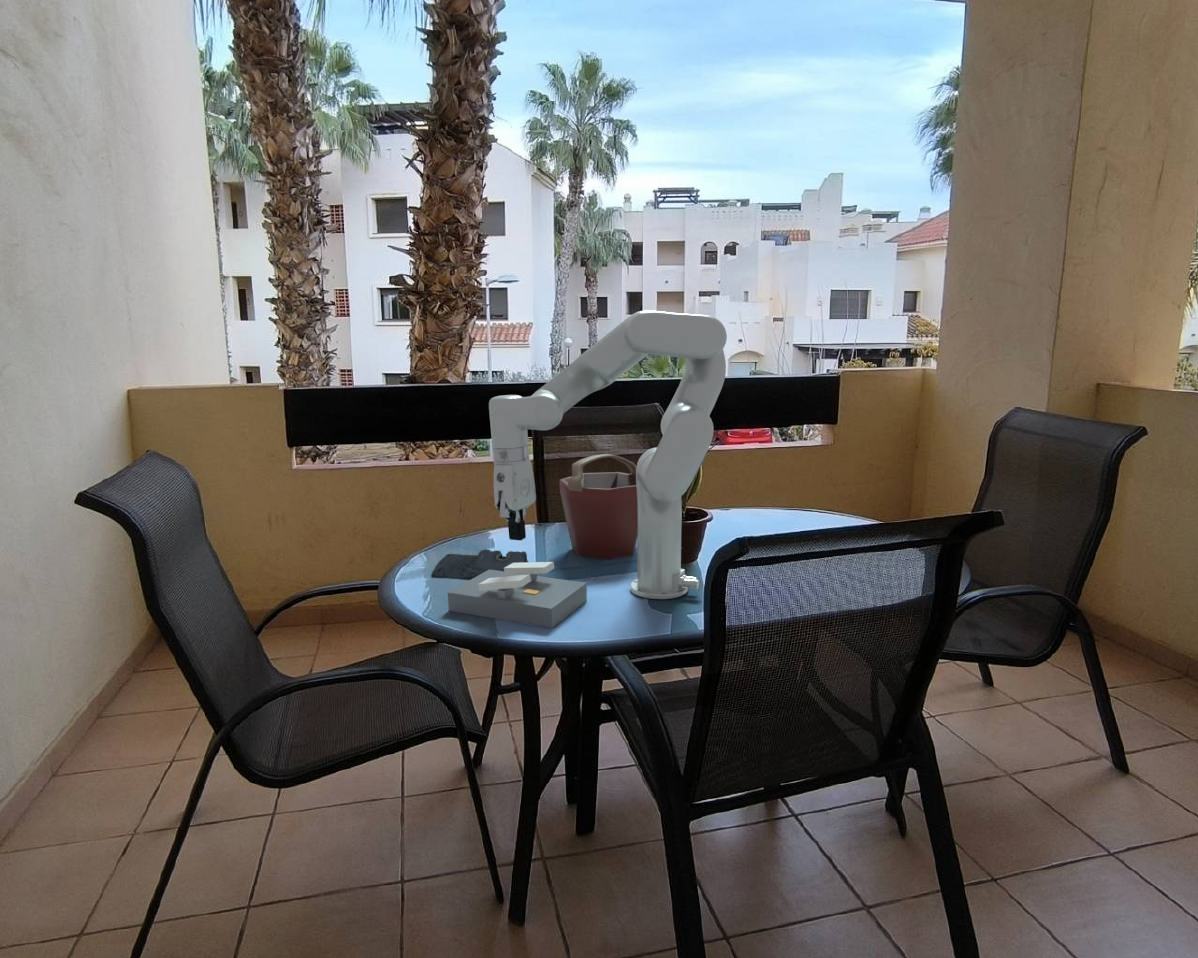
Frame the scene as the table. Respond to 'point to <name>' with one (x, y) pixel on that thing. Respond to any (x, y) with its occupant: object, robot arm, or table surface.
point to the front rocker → (504, 582)
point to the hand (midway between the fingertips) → (517, 538)
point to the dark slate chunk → (475, 564)
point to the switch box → (520, 599)
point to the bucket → (601, 510)
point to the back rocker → (529, 568)
